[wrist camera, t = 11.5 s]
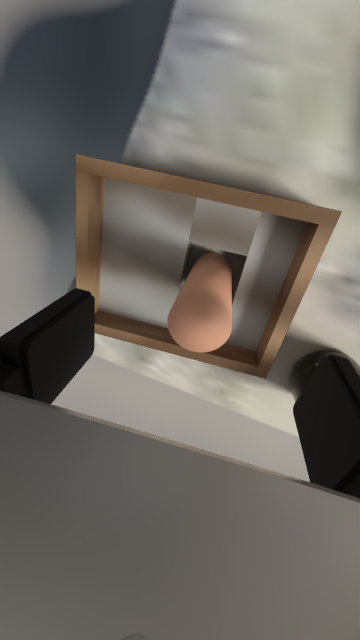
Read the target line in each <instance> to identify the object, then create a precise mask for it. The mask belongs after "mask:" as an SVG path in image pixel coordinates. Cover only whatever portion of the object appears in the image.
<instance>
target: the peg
mask: <svg viewBox="0 0 360 640" xmlns="http://www.w3.org/2000/svg"><path fill="white" fill-rule="evenodd" d="M167 325H168V330H169V332H170V335H171V336H172V338H173V339H174V340H175V342H176V343H178V344H179V345H180V346H181V347H183V348H185V349H187V350H190V351H193V352H210V351H213V350H216V349H217V348H219V347H221V346H222V345H223V344H224V343H225V342H226V341H227V340H228V338H229V336H230V334H231V330H232V284H231V266H230V263H229V261H228V260H227V259H226V258H225V257H224V256H223V255H221V254H218V253H206V254H204V255H202V256H200V257H199V258H198V259H197V260H196V262H195V264H194V266H193V267H192V269H191V271H190V273H189V275H188V277H187V279H186V281H185V283H184V285H183V287H182V289H181V290H180V292H179V294H178V296H177V298H176V300H175V302H174V304H173V306H172V308H171V310H170V312H169V314H168V319H167Z"/></svg>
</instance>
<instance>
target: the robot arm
mask: <svg viewBox="0 0 360 640" xmlns="http://www.w3.org/2000/svg"><path fill="white" fill-rule="evenodd" d="M94 330H95V297H94V296H92V295H91V292H90V291H86V290H82V289H78V288H75V289H73V290H72V291H70V292H69V293H67V294H66V295H64V296H62V297H61V298H59V299H58V300H56V301H55V302H53V303H52V304H50V305H49V306H47V307H46V308H44V309H43V310H41V311H39V312H38V313H36V314H35V315H33V316H32V317H30V318H29V319H27V320H26V321H24V322H23V323H21V324H20V325H18V326H16V327H15V328H14V329H12V330H10V331H9V332H7V333H6V334H4V335H3V336H1V337H0V640H360V377H359V375H358V374H357V372H356V370H355V369H354V367H353V366H352V364H351V363H350V361H349V360H348V359H347V358H344V357H340V356H336V355H332V354H330V355H328V356H327V357H323V358H322V359H321V360H320V362H319V364H318V365H317V367H316V369H315V370H314V372H313V374H312V375H311V377H310V379H309V380H308V382H307V384H306V385H305V387H304V389H303V390H302V392H301V394H300V395H299V397H298V399H297V400H296V402H295V404H294V407H293V414H294V418H295V422H296V426H297V430H298V434H299V438H300V442H301V446H302V450H303V454H304V458H305V462H306V466H307V471H308V475H309V479H310V482H307V481H304V480H301V479H298V478H294V477H291V476H288V475H284V474H281V473H278V472H275V471H271V470H268V469H265V468H262V467H259V466H255V465H252V464H249V463H246V462H242V461H239V460H236V459H233V458H229V457H226V456H222V455H219V454H216V453H213V452H209V451H206V450H203V449H199V448H196V447H193V446H190V445H186V444H183V443H179V442H176V441H173V440H169V439H166V438H163V437H159V436H156V435H153V434H150V433H146V432H143V431H140V430H136V429H133V428H130V427H126V426H123V425H119V424H116V423H112V422H109V421H106V420H103V419H99V418H95V417H92V416H89V415H86V414H82V413H79V412H75V411H72V410H69V409H65V408H62V407H58V406H55V405H51V403H52V402H53V401H54V400H55V399H56V397H57V396H58V395H59V394H60V393H61V391H62V390H63V389H64V388H65V387H66V385H67V384H68V383H69V382H70V381H71V379H72V378H73V377H74V376H75V375H76V373H77V372H78V371H79V370H80V369H81V368H82V366H83V365H84V364H85V363H86V362H87V360H88V359H89V358H90V357H91V356H92V354H93V351H94Z"/></svg>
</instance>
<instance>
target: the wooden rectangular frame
mask: <svg viewBox="0 0 360 640" xmlns="http://www.w3.org/2000/svg"><path fill="white" fill-rule="evenodd" d="M341 212H342V211H338V210H333V209H329V208H324V207H319V206H315V205H310V204H305V203H301V202H296V201H291V200H287V199H282V198H277V197H273V196H268V195H263V194H259V193H254V192H250V191H245V190H240V189H236V188H231V187H226V186H222V185H217V184H212V183H208V182H203V181H198V180H194V179H189V178H184V177H180V176H175V175H170V174H166V173H161V172H157V171H152V170H147V169H143V168H138V167H133V166H129V165H124V164H119V163H115V162H110V161H105V160H101V159H96V158H91V157H87V156H82V155H77V154H76V288H78V289H82V290H86V291H90V292H91V295H92V296H94V297H95V330H94V333H96V334H100V335H104V336H108V337H111V338H115V339H119V340H123V341H126V342H130V343H134V344H138V345H141V346H145V347H149V348H153V349H156V350H160V351H164V352H168V353H171V354H175V355H179V356H183V357H186V358H190V359H194V360H198V361H201V362H205V363H209V364H213V365H216V366H220V367H224V368H228V369H231V370H235V371H239V372H243V373H246V374H250V375H254V376H258V377H261V378H265V379H266V377H267V374H268V372H269V370H270V368H271V366H272V363H273V361H274V359H275V357H276V355H277V353H278V350H279V348H280V346H281V344H282V342H283V339H284V337H285V335H286V333H287V331H288V328H289V326H290V324H291V322H292V320H293V317H294V315H295V313H296V311H297V309H298V307H299V304H300V302H301V300H302V298H303V296H304V293H305V291H306V289H307V287H308V285H309V282H310V280H311V278H312V276H313V274H314V271H315V269H316V267H317V265H318V263H319V261H320V258H321V256H322V254H323V252H324V250H325V247H326V245H327V243H328V241H329V239H330V236H331V234H332V232H333V230H334V228H335V226H336V223H337V221H338V219H339V217H340V215H341ZM190 243H193V244H197V245H201V246H205V247H210V248H214V249H218V250H223V251H227V252H231V253H235V254H240V255H244V256H245V257H244V260H243V263H242V266H241V269H240V273H239V276H238V279H237V282H236V285H235V289H234V292H233V295H232V330H231V334H230V336H229V338H228V340H227V341H226V342H225V343H224V344H223V345H222V346H221V347H219V348H217V349H216V350H213V351H210V352H193V351H190V350H187V349H185V348H183V347H181V346H180V345H179V344H178V343H176V342H175V340H174V339H173V338H172V336H171V335H170V332H169V330H168V325H167V319H168V314H169V312H170V310H171V308H172V306H173V304H174V302H175V300H176V298H177V296H178V294H179V292H180V290H181V287H182V282H183V277H184V272H185V268H186V263H187V258H188V253H189V248H190Z"/></svg>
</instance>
